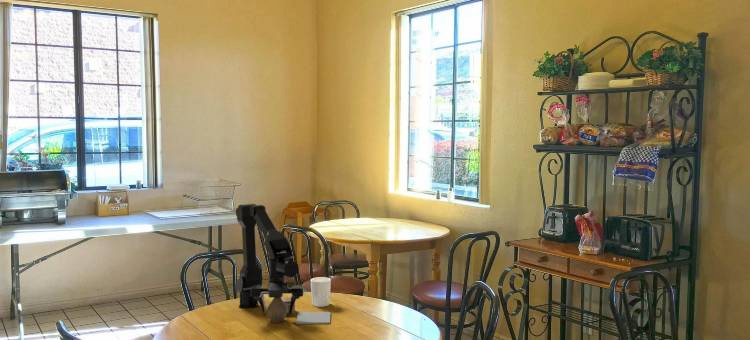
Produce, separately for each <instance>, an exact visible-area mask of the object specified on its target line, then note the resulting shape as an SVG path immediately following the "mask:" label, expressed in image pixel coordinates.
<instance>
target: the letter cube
mask: <svg viewBox="0 0 750 340" xmlns="http://www.w3.org/2000/svg"><path fill="white" fill-rule="evenodd" d="M281 299H282V300H283V302H284V303H285V304H286V307H287V315H289V310H290V303H291V297H281ZM295 312H296V302H295V303H294V305H293V308H292V312H291V315H295Z"/></svg>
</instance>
